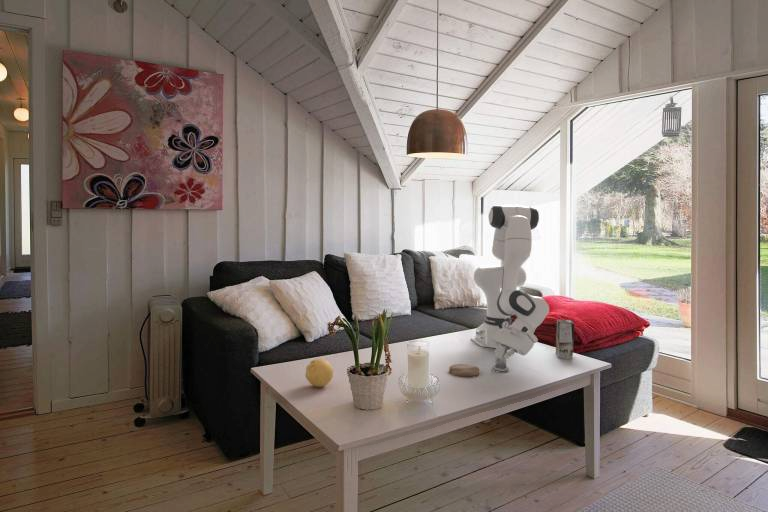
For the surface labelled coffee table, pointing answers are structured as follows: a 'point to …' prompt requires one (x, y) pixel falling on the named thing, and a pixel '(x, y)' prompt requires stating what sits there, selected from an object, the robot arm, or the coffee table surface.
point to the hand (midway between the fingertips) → (499, 355)
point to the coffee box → (565, 338)
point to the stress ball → (319, 372)
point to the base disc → (464, 370)
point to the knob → (500, 359)
